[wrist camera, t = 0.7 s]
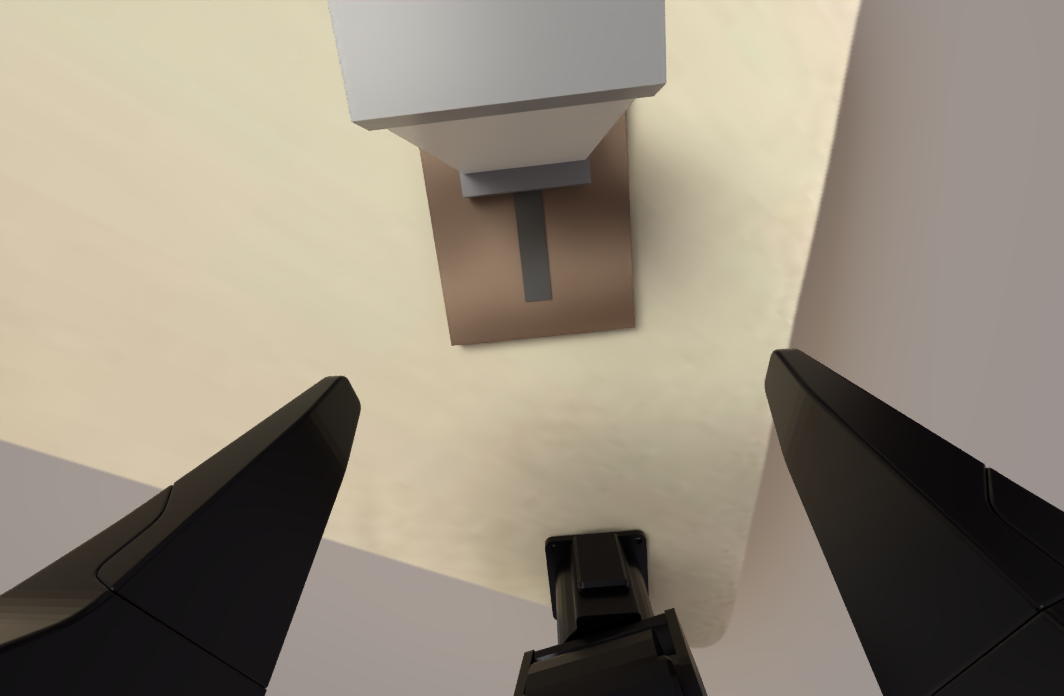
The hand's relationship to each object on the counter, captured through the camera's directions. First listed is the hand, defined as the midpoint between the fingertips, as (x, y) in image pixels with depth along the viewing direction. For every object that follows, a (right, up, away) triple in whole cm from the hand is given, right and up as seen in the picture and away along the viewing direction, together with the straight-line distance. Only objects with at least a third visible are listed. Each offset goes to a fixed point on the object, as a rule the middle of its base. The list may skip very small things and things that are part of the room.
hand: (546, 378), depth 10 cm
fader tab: (-1, +11, +12) cm, 16 cm away
